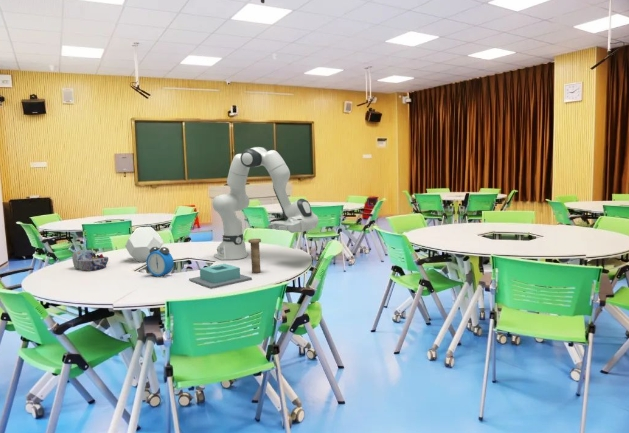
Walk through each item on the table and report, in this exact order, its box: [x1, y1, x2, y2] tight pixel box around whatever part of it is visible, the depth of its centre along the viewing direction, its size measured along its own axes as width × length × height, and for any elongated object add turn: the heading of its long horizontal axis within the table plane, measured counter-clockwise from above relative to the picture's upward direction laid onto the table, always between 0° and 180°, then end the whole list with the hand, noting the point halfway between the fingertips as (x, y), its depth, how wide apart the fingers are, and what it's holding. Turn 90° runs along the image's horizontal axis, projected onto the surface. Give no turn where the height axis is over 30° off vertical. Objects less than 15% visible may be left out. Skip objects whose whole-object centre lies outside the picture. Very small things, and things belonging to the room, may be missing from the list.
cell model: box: [71, 249, 109, 272], centre depth 258 cm, size 13×11×20 cm
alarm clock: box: [146, 246, 175, 278], centre depth 235 cm, size 13×6×15 cm, turn 67°
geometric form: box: [124, 226, 165, 263], centre depth 276 cm, size 20×20×20 cm
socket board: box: [188, 263, 253, 290], centre depth 221 cm, size 22×22×6 cm
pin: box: [248, 238, 262, 274], centre depth 234 cm, size 6×6×17 cm
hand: (273, 227), depth 240 cm, fingers open, 8 cm apart
